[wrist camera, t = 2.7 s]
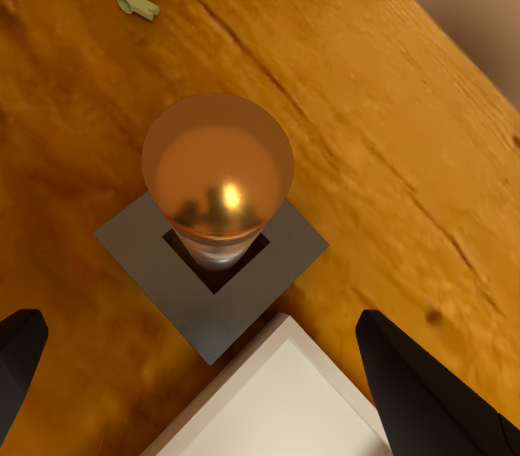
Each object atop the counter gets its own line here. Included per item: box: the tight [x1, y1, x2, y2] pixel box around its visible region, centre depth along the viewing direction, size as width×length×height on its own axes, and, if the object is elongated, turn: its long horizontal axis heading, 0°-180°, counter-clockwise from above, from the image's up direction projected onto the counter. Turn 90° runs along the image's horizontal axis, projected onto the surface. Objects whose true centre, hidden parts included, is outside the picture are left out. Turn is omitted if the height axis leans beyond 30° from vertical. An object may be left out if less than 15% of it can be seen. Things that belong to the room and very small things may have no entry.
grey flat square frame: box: [92, 191, 329, 366], centre depth 19 cm, size 10×10×2 cm
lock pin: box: [141, 93, 294, 272], centre depth 13 cm, size 4×4×13 cm
